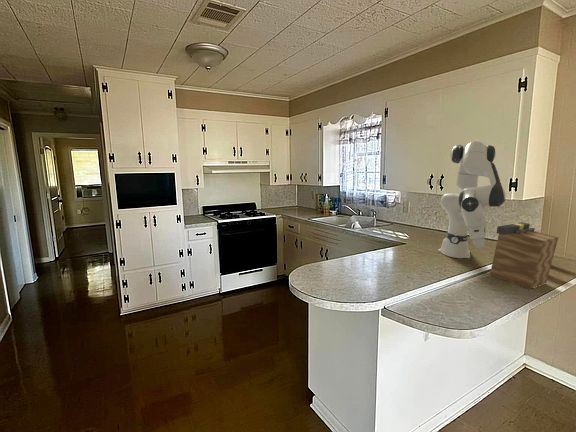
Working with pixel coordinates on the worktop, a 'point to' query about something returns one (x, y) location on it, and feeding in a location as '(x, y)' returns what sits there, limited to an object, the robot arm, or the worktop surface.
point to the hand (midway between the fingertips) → (479, 236)
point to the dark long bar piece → (512, 228)
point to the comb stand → (524, 257)
